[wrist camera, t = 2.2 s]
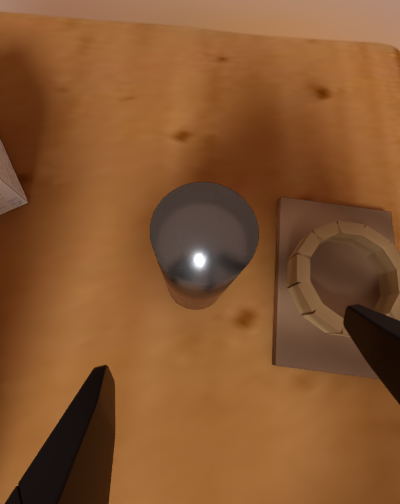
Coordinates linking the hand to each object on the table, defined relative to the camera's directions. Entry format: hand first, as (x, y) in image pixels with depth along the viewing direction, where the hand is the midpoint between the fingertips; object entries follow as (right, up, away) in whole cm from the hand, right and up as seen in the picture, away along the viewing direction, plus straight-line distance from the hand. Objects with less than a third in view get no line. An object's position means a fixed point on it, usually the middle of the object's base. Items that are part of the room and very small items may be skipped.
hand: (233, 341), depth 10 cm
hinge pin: (-2, +1, +12) cm, 12 cm away
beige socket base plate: (+10, +1, +13) cm, 16 cm away
